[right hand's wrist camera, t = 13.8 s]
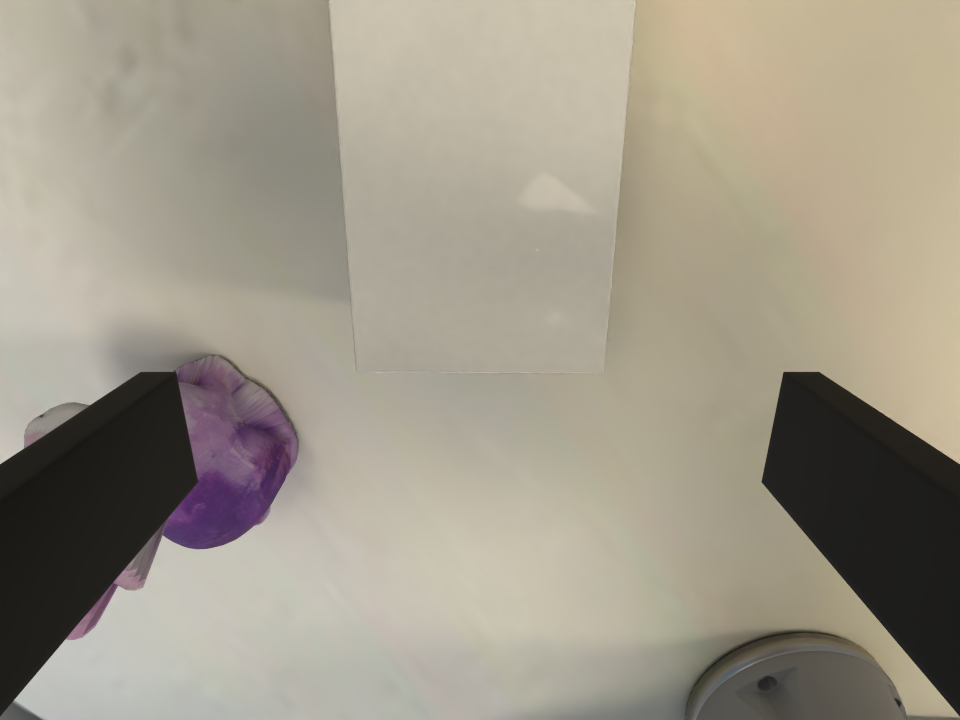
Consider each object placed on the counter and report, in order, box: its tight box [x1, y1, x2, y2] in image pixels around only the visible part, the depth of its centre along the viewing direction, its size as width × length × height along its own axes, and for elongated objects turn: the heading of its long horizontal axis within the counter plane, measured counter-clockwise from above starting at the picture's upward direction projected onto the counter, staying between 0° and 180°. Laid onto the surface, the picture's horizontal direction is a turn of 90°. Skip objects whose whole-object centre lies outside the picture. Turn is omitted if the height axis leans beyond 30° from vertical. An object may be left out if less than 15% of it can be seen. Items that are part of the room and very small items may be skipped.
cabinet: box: [328, 0, 636, 374], centre depth 25 cm, size 21×10×10 cm, turn 0°
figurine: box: [24, 356, 298, 640], centre depth 28 cm, size 9×10×15 cm
